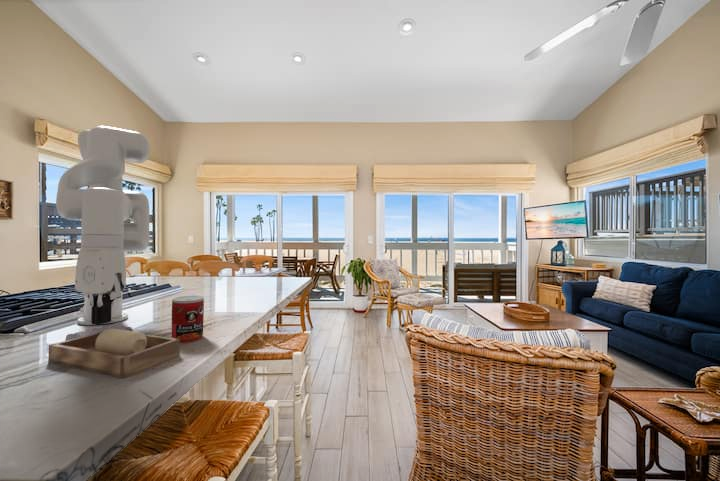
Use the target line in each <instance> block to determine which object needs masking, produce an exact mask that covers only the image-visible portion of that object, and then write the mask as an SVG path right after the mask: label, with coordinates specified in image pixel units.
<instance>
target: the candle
mask: <svg viewBox="0 0 720 481" xmlns="http://www.w3.org/2000/svg"><path fill="white" fill-rule="evenodd" d="M145 334H146V333H143V332H139V331H134V330H133V331H127V330H121V329H113V328H112V329H107V330H105V331H103V332H102V333H101V334H100V335H99V336H98V337H97V339H96V343H95V346H96V349H97V350H98V351H99V352H104V353H110V354H115V355H121V356H128V355H131V354H134V353H136V352H139V351H142V350H145V348H146V345H147V338H146V336H145Z"/></svg>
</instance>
